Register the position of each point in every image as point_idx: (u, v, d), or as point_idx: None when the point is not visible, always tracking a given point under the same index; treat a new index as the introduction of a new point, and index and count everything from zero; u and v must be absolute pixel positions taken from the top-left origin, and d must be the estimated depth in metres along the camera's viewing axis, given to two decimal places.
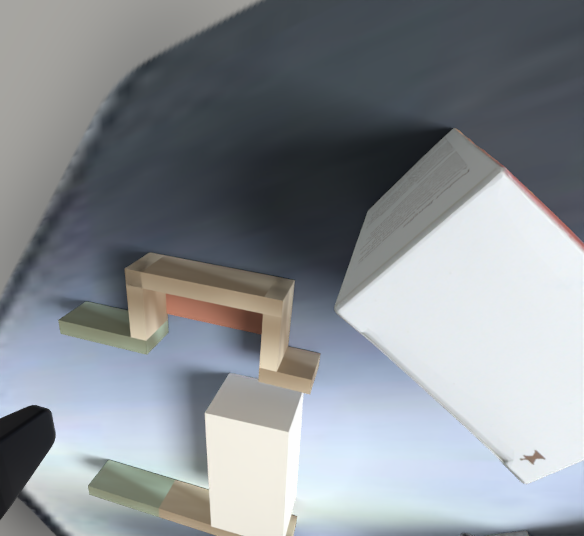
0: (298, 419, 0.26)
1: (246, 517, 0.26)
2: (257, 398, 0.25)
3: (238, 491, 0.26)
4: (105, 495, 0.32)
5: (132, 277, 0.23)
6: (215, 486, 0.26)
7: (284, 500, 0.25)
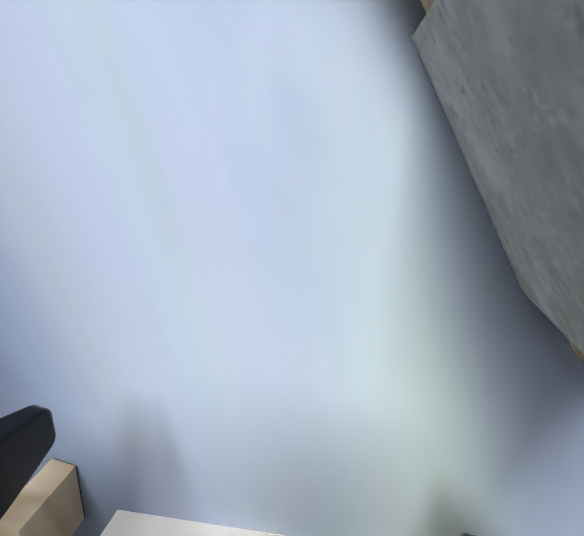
0: None
1: None
2: None
3: None
4: None
5: None
6: None
7: None
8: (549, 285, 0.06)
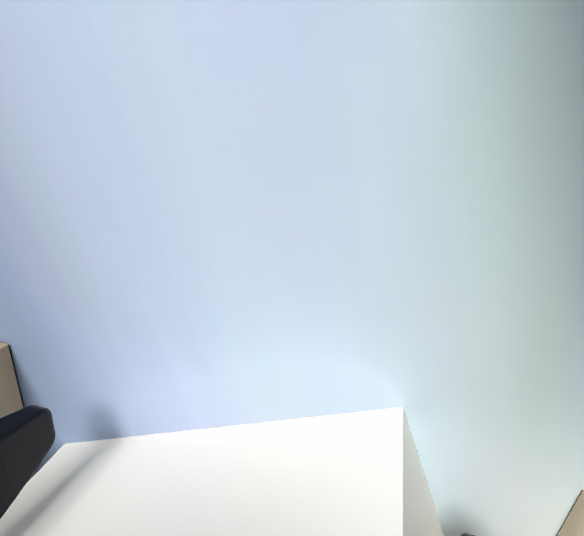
0: (75, 473, 0.11)
1: None
2: None
3: None
4: None
5: None
6: None
7: None
8: None
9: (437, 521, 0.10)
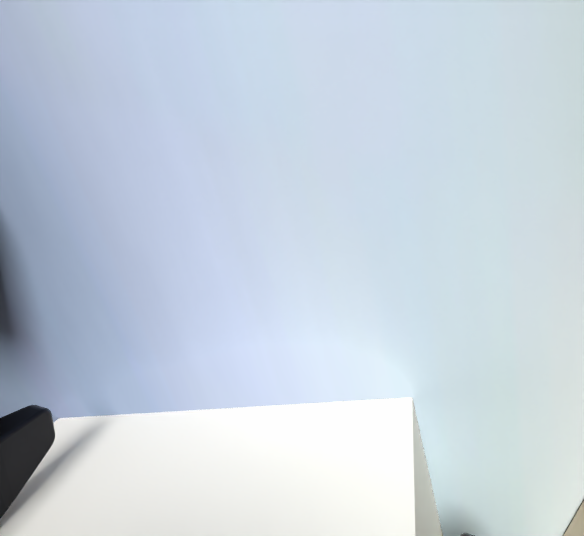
0: (66, 452, 0.10)
1: None
2: None
3: None
4: None
5: None
6: None
7: None
8: None
9: (437, 519, 0.09)
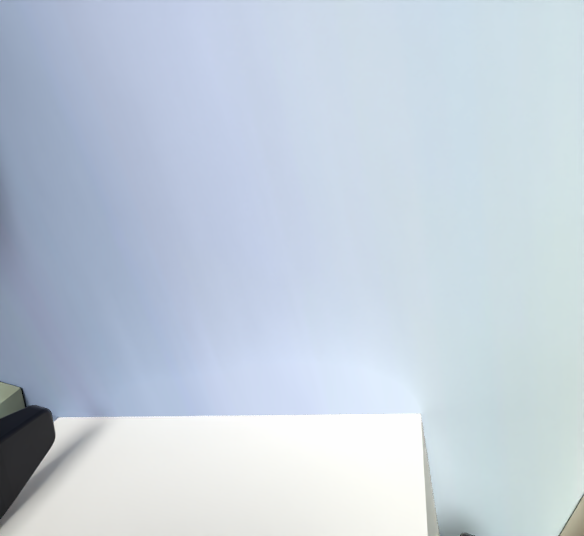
0: (73, 448, 0.10)
1: None
2: None
3: None
4: None
5: None
6: None
7: None
8: None
9: (437, 524, 0.10)
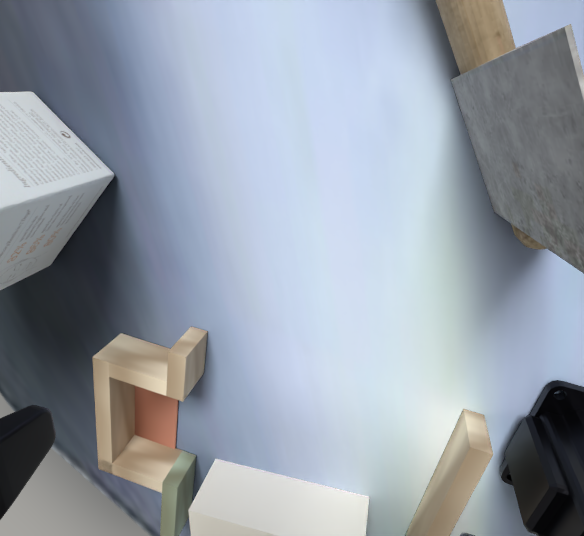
0: (231, 478, 0.26)
1: None
2: None
3: None
4: None
5: (104, 466, 0.26)
6: None
7: None
8: (503, 195, 0.14)
9: None
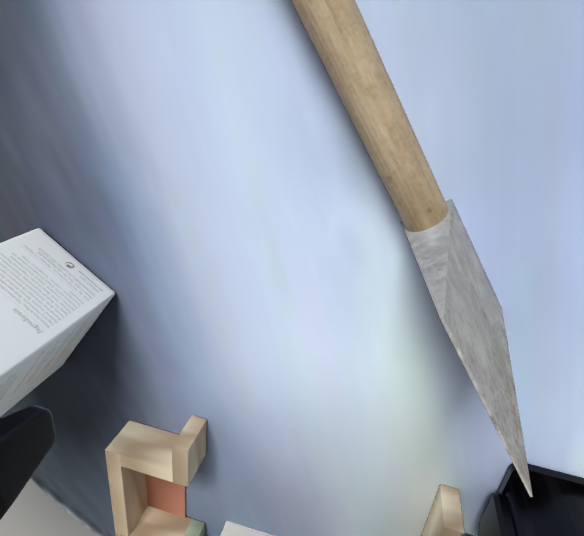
0: None
1: None
2: None
3: None
4: None
5: None
6: None
7: None
8: None
9: None
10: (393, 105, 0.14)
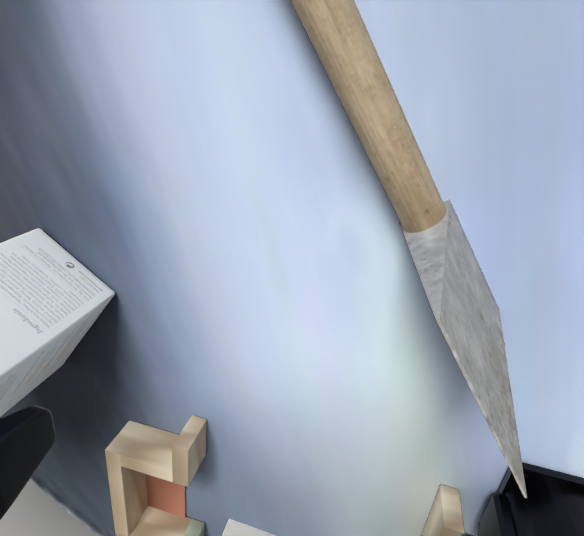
0: None
1: None
2: None
3: None
4: None
5: None
6: None
7: None
8: None
9: None
10: (391, 106, 0.14)
